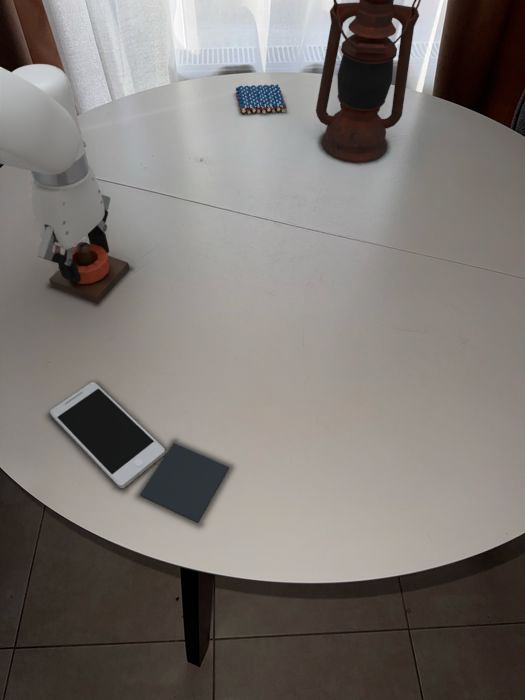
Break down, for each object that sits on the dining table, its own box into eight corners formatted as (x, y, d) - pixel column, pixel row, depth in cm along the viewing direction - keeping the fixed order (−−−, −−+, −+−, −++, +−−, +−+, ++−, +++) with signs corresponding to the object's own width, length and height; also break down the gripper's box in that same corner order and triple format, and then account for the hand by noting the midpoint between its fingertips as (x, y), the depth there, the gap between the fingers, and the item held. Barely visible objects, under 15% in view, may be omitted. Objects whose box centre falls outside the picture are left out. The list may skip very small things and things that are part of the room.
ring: (92, 288, 90) (89, 277, 88) (56, 275, 91) (53, 264, 90) (117, 262, 94) (115, 251, 92) (83, 250, 96) (79, 239, 94)
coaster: (197, 523, 68) (197, 521, 68) (139, 495, 70) (139, 494, 70) (229, 468, 73) (228, 466, 73) (173, 443, 75) (173, 442, 75)
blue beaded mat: (287, 113, 130) (287, 104, 128) (240, 115, 129) (240, 106, 127) (279, 91, 136) (280, 82, 135) (235, 93, 135) (234, 84, 134)
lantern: (392, 129, 126) (425, -27, 103) (397, 165, 117) (435, 2, 94) (312, 125, 127) (327, -32, 104) (312, 160, 118) (328, -3, 95)
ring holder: (97, 304, 91) (88, 270, 85) (51, 286, 93) (38, 252, 87) (129, 269, 96) (122, 235, 90) (84, 253, 98) (75, 218, 93)
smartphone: (121, 490, 70) (120, 486, 70) (50, 415, 77) (48, 411, 76) (166, 453, 74) (166, 449, 73) (94, 384, 80) (93, 380, 80)
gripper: (76, 128, 84) (99, 227, 98) (-8, 190, 74) (31, 291, 88) (119, 141, 83) (136, 240, 96) (40, 206, 72) (72, 307, 86)
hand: (86, 264), depth 92 cm, fingers closed on ring, 6 cm apart
